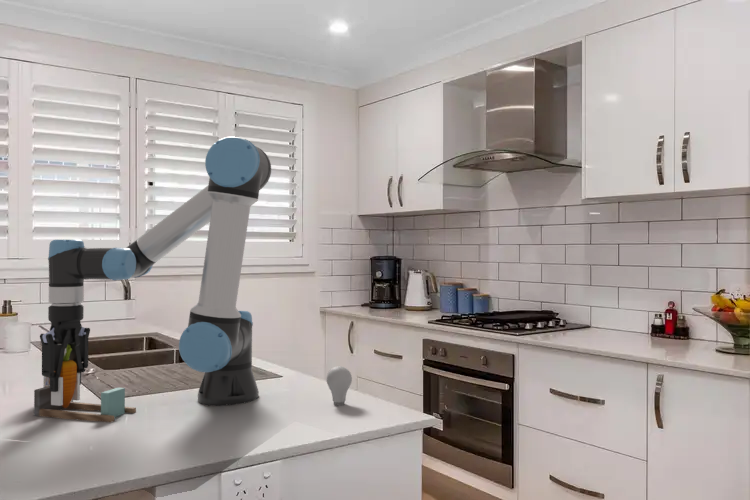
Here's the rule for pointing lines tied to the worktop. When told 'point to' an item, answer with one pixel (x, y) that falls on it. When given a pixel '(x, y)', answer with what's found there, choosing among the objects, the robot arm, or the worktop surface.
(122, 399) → the cap
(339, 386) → the lightbulb
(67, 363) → the carrot
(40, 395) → the track
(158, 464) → the worktop surface
